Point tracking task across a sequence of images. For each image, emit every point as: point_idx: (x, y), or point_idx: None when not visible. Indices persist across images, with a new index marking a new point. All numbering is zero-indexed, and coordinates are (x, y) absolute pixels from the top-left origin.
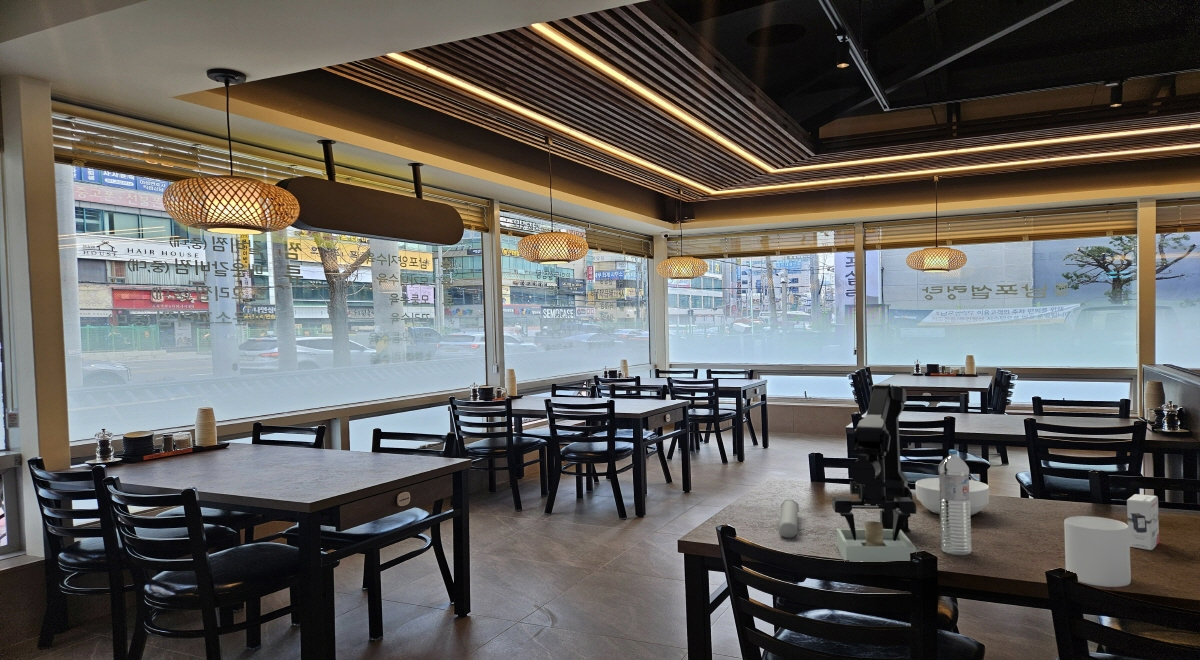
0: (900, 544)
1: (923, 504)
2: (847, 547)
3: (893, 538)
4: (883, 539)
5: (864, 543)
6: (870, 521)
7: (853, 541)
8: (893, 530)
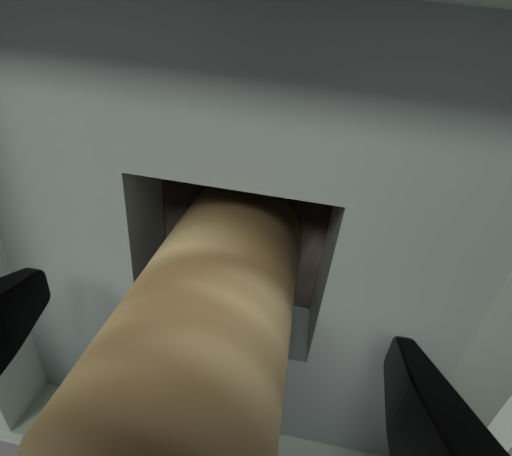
0: (479, 272)
1: None
2: (9, 436)
3: (389, 373)
4: (398, 77)
5: (160, 174)
6: (96, 424)
7: (57, 137)
8: (417, 449)
